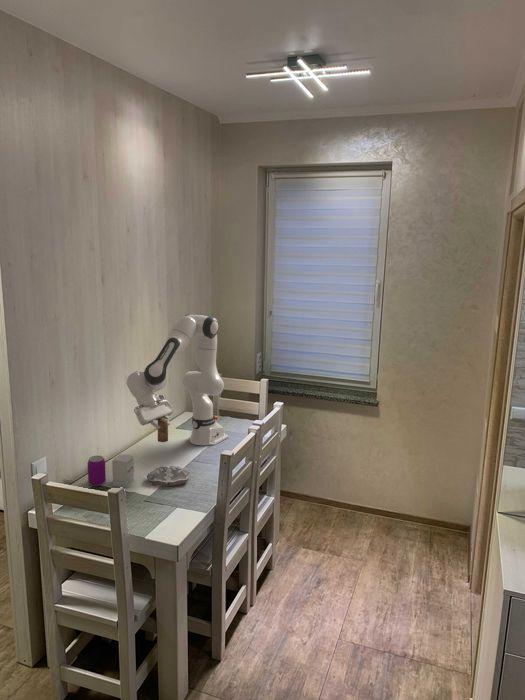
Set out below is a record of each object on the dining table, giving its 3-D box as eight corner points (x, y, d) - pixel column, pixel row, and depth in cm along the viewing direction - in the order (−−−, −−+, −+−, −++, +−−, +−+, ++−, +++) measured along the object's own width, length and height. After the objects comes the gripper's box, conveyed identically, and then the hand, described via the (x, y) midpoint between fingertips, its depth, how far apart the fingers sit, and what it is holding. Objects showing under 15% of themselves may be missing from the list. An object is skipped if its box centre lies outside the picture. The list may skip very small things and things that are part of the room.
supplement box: (127, 488, 229) (126, 462, 227) (112, 486, 231) (111, 460, 228) (134, 480, 236) (134, 455, 234) (119, 478, 238) (119, 453, 235)
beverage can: (109, 481, 235) (108, 456, 233) (97, 488, 228) (96, 463, 226) (96, 477, 238) (95, 453, 236) (84, 484, 231) (83, 459, 229)
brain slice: (188, 470, 249) (188, 465, 249) (190, 487, 233) (190, 481, 232) (147, 472, 246) (147, 466, 245) (146, 489, 229) (145, 483, 229)
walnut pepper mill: (163, 437, 244) (163, 417, 242) (170, 440, 241) (170, 420, 239) (155, 440, 240) (155, 420, 238) (162, 443, 237) (161, 422, 235)
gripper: (135, 404, 232) (151, 429, 229) (166, 394, 249) (181, 417, 246) (129, 411, 235) (144, 436, 232) (159, 401, 252) (174, 424, 249)
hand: (164, 426), depth 239 cm, fingers closed on walnut pepper mill, 5 cm apart
